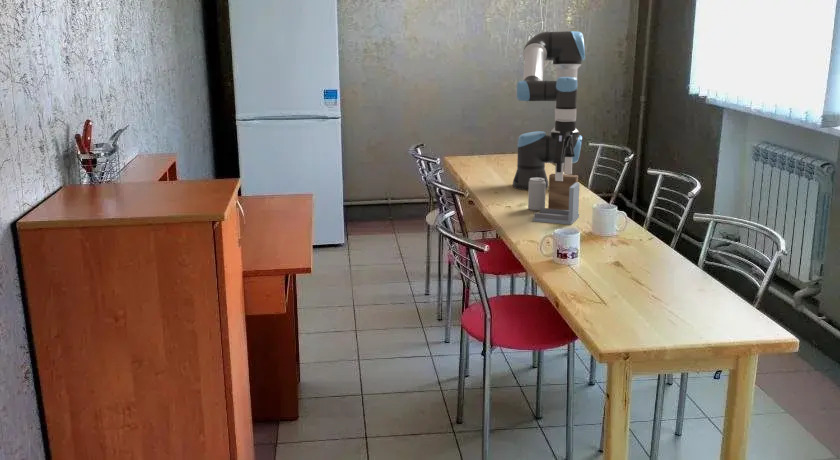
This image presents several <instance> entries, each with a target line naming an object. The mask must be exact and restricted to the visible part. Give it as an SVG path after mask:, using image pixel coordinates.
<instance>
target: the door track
mask: <svg viewBox="0 0 840 460" xmlns="http://www.w3.org/2000/svg"><path fill="white" fill-rule="evenodd" d="M580 183H581V182H578V183H574V184H573V185H572V186H571V187H570V188H569V210H560V209H549V208H548V207H545V208H540V211H539V212H534V214H533V216H534V217H533V218H532V222H538V223H549V224H559V225H560V224H561V225H573V224H574V222H576V220H578V219H579V217H580V214H579V211H580V210H579V209H580V208H579V206H580V205H579V204H580V203H579V202H580Z"/></svg>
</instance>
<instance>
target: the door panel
mask: <svg viewBox="0 0 840 460" xmlns="http://www.w3.org/2000/svg"><path fill="white" fill-rule="evenodd" d="M578 181H579V175H577V174H576V175H575V174H572V175H569V174H564V173H563V181H555V173H551V174H549V176H548V204H547V205H548V206H547V208H549V209H560V210H569V188H570V187H571V186H572V185H573V184H574V183H579V182H578Z"/></svg>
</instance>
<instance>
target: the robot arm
mask: <svg viewBox="0 0 840 460" xmlns="http://www.w3.org/2000/svg"><path fill="white" fill-rule="evenodd" d="M585 50H586V49H585V40H584V34H583V33H582V32H581V31H573V30H571V31H569V30H568V31H544V32H539V33H538V34H536V35H534V36H532V37H531V38H530V39H529V40H528V41H527V42H526V44H525V45H524V47H523V51H522V58H523V59H524V68H523V77H522V80H519V81H517V83H516V99H517V100H518V101H521V102H555V107H554V112H553V113H554V127H553V128H552V129H551V131H550V134H549V135H547V133H546V132H545V131H531V132H525V133H521V134H520V135H519V136H518V138H517V145H516V147H517V158H516V160H517V163H516V167H517V168H516V172H515V174H514V177H513V180H512V187H513V188H514V189H516V190H517V189H518V190H521V191H522V190H524V191H526V190H527V191H528V190H529V181H530V178H544V179H545V182H546V189H549V178H548V176H547V173H546V168H545V167H546V165H545V164H555V169H554V170H555V171H554V172H555V173H554V174H555V181H563V174H564V175H573V164H575V163H577V162H578V161H579V158H580V155H581V148H582V143H583V141H582V140H583V136H582V135H581V134H580V131H579V130H578V129H577V102H578V101H577V99H578V87H579V86H578V69H579V68H580V67H581V66H582V61H585V60H586V52H585ZM545 61H550V62H551V61H552V66H553V67H554V68H555V69H556V78H555V80H544V64H545Z"/></svg>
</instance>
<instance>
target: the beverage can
mask: <svg viewBox="0 0 840 460" xmlns="http://www.w3.org/2000/svg"><path fill="white" fill-rule="evenodd" d="M546 189H547V188H546V182H545V179H544V178H530V181H529V190H527V191H528V194H527V196H528V198H527V204H528V205H527V207H528V209H529V210H530V211H532V212H540V208H546Z"/></svg>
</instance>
